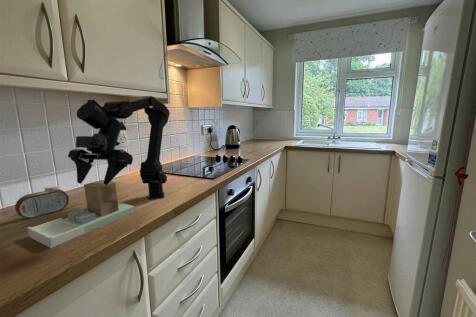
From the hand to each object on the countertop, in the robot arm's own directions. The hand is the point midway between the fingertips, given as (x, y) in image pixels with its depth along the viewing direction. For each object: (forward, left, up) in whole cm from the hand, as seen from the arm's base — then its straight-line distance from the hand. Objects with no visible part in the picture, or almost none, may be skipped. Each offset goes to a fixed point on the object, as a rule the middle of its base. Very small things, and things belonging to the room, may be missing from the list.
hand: (92, 183), depth 69 cm
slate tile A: (-5, -5, -13) cm, 14 cm away
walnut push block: (-11, -1, -13) cm, 17 cm away
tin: (-21, -23, -15) cm, 35 cm away
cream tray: (-1, -11, -15) cm, 19 cm away
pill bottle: (-28, -23, -15) cm, 40 cm away
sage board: (-10, -2, -15) cm, 18 cm away
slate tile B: (-8, -8, -13) cm, 17 cm away
